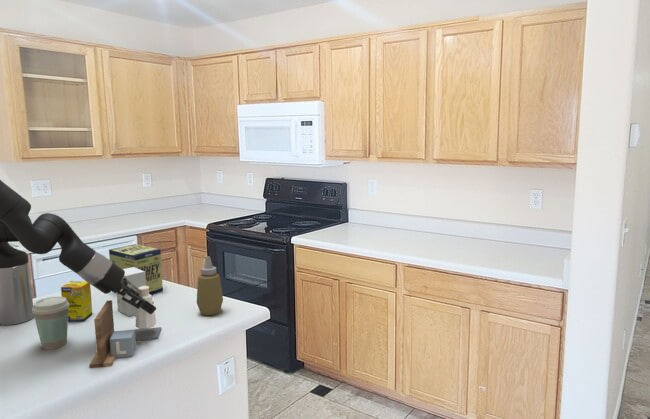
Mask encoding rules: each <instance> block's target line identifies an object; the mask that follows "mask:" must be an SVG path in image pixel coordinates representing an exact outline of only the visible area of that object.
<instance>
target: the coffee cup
mask: <svg viewBox="0 0 650 419" xmlns="http://www.w3.org/2000/svg"><path fill="white" fill-rule="evenodd" d="M68 307H69V302H68V301H67V299H66V298H65V297H62V296H49V297H44V298H41V299H38V300H36V301H35V302H33V308H32V313H34V317H33V318H34V320H35V324H36V329H37V333H38V336H39V342H40V345H41V348H42V349H44V350H54V349H58V348H60V347H63V346H65V345H66V344H67V343H68V328H69V327H68V324H69V322H68Z"/></svg>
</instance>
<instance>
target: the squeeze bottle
mask: <svg viewBox="0 0 650 419" xmlns="http://www.w3.org/2000/svg"><path fill="white" fill-rule="evenodd" d="M211 259H212V258H211V256H210V255H209V256H206V257H205V261H204V266H203V267H200V275H199V276H197V288H196V290H197V291H196V305H197V307H198V309H199V312H200V314H201V315H203V316H215V315H217V314H219V313H220V312H221V309H222V305H223V302H224V296H223V288H222V285H221V283H222V282H221V276H220V274H219V273H217V267H216V266H213V263H212V260H211Z"/></svg>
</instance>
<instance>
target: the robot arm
mask: <svg viewBox="0 0 650 419" xmlns="http://www.w3.org/2000/svg"><path fill="white" fill-rule="evenodd" d="M31 209H32V204H31V203H30V202H29V201H28V200H27V199H26V198H24V197H23V196H22V195H20V194H19V193H18V192H17V191H15V189H12V187H11V186H9V185H7V184H6V183H5V182H4V181H3V180H1V179H0V325H2V326H12V325H17V324H18V325H19V324H23V323H25V322H28V321H31V320H32V319H34V318H35V317H34V313H32V308H33V305H34V301H33V292H32V291H33V290H32V282H31V272H30V262H29V255H28V253H27V252H26V251H23V250H21V249H18V248H15V247H13V246H12V245H11V244H9V243H13V242H14V243H15V242H19V244H20V245H21V246H22V247H23V248H25V249H26V250H27V251H28V252H31V253H32V254H36V255H47V254H49V252H51V251H52V250H53V249H54V247H56V244H59V245H58V246H60V249H61V250H60V253H59V257H58V261H59V262H60V263H61V264H62V265H63V266H64V267H66V268H68V269H69V270H71V271H72V272H74V274H76V275H78V276H79V277H80V278H81V279H82V280H84V281H87V282H88V283H89V284H90V286H93V287H94V288H96V289H97V290H98V291H100V293H101V292H102V293H103V294H104V295H105V294H106V295H107V294H109V293H111V292H112V290H115V291H116V292H117V293H116V296H117V295H118V296H119V297H121V298H122V300H123V301H125V302H127V303H129V304H131V305H132V306H134V307H136V308H138V309H139V308H140V307H141V308H142V309H143V310H145V311H146V312H148V313H149V314H152V313H153V312H155V311H156V310H157V307H156V306H155V305H154V301H153V305H152V304H151V303H149V302H148V301H146V300H145V299H144V298H143V297H141V296H140V293H139V290H138V288H137V287H136V286H134V285H133V284H132V283H131V282H130V281H128V280H127V279H126V278H123V277H124V275H125V271H124V270H123V269H122V268H120V267H119V266H117V265H116V264H115V263H113V262H112V261H110V258H107V256H105V255H103V254H101V253H99V252H98V251H96V250H95V249H94V248H92V247H91V246H89V245H87V244H86V243H85V242H83V240H82V239H81V238H80V237H79V235H78V234H77V233H76V232H75V231H74V229H73V228H72V227H71V226H70V224H69V223H67V220H65V219H64V218H63V217H61V216H59V215H58V214H55V213H49V212H48V213H42V214H40V215H39V216H38V217H37V218H36V219H35V220H34V222H33V221H32V219H31V218H30V216H29V214H30V211H31ZM137 300H139V302H138V303H137V302H136V301H137Z"/></svg>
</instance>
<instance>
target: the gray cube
mask: <svg viewBox="0 0 650 419" xmlns="http://www.w3.org/2000/svg"><path fill="white" fill-rule="evenodd" d="M136 342H137V341H136V339H135V329H126V330H125V329H124V330H114V333H113V335H112V336H111V338H110V348H111V355H115V356H116V358H115V359H117V358H118V359H120V358H129V357H134V355H135V352H136V350H137V343H136Z"/></svg>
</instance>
